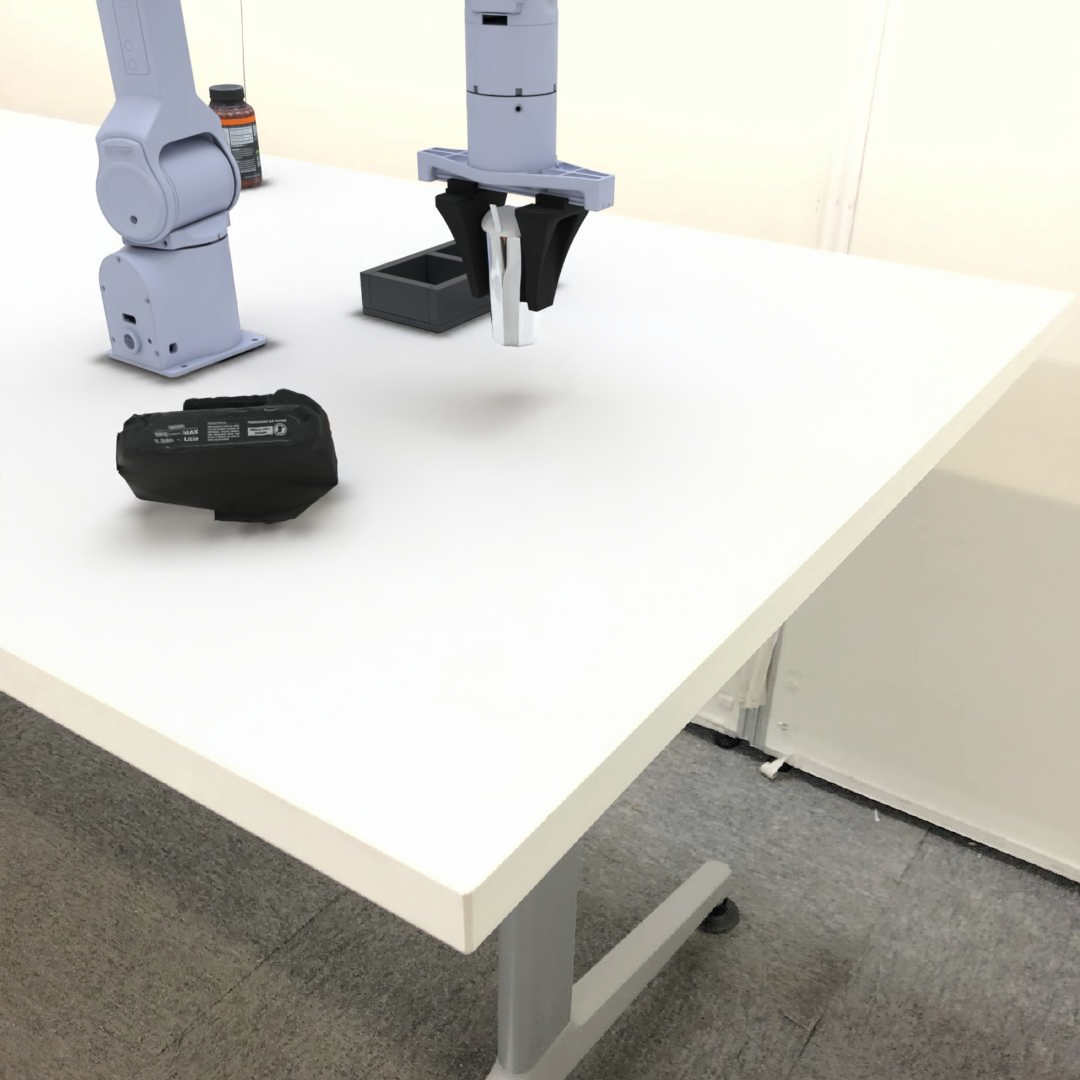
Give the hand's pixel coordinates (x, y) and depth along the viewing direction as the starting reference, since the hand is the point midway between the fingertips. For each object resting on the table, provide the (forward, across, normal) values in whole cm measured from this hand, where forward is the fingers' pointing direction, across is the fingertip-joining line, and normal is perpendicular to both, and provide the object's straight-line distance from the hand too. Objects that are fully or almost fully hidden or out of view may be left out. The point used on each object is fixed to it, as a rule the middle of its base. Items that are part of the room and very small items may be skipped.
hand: (512, 300), depth 77 cm
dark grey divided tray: (+7, +17, -15) cm, 24 cm away
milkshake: (+3, 0, 0) cm, 3 cm away
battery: (+7, +3, +23) cm, 24 cm away
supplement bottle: (+7, +67, -34) cm, 75 cm away
